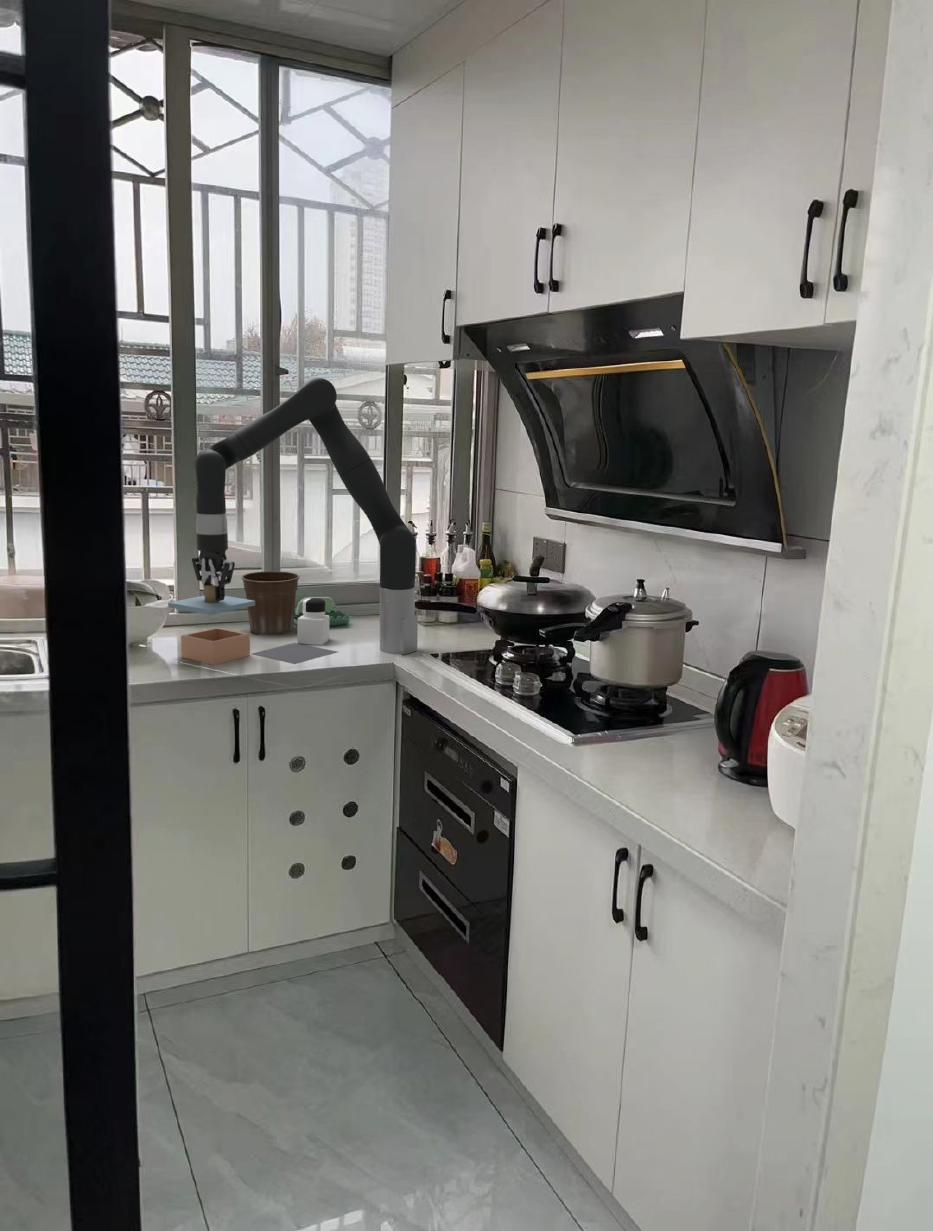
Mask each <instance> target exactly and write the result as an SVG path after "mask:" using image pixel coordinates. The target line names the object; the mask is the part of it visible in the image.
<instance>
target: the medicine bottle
mask: <svg viewBox="0 0 933 1231" xmlns="http://www.w3.org/2000/svg"><path fill="white" fill-rule="evenodd" d="M302 614H303V615H300V616H299V617H298V618H297V636H296V638H297V640H296V643H298V644H304V645H309V646H313V645H314V646H315V645H316V646H323V645H325V644H326V643H327V642H328V641H329V640H330V621H331V620H330V618H331V617H330V615H327V614H326V601H325V600H324V599H323V598H318V597H309V598H306V599H303V600H302Z"/></svg>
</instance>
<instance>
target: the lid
mask: <svg viewBox="0 0 933 1231" xmlns="http://www.w3.org/2000/svg"><path fill="white" fill-rule="evenodd" d="M215 586H216V585H215V584H213V585H205V586H203V595H201V596H200V595H199V596H195V597H191V598H185V599H180V600H175V601H169V602H168V603H167V608H169V609H175V610H176V609H177V610H182V611H187V612H192V613H197V614H204V615H209V616H212V615H216V614H222V613H225V612H230V611H234V610H235V611H237V610H239V609H240V610H241V609H246V608H248V607H250V606H255V601H253V600H247V598H240V597H235V596H228V595H225V597H224V600H221V601H217V600H216V594H215Z"/></svg>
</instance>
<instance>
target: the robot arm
mask: <svg viewBox="0 0 933 1231" xmlns="http://www.w3.org/2000/svg"><path fill="white" fill-rule="evenodd" d="M337 395H338V394H337V390H336V387H335V386H334V385H333V383H332V382H330V380H328V379H326V378H324V377H323V378H322V377H312V378H309V379H308V380H306V381H304V382H303V383H302V385H301V386H300V387H299V389H298V390H297V391H295V393H293V394H292V395H291V396H290V397H289V398H287V399H286V400H285V401H283V402H282V403H281V404H279V405H278V406H276V407H275V408H273V409H271V410H270V411H268V412H265V413H264V414H262V415H260V416H259V417H257V418H255V419H252V420H251V421H249V422H248V423H246V424H245V425H243V426H241V427H240V428H238V429H237V430H235V431H234V432H232V433H230V434H229V435H227V436H226V437H225V438H223V439H221V440H219V441H217V442H216V443H213V444H211V445H210V446H208V447H206V448H204V449H203V450H201V451H200V452H199V453H197V455H196V456H195V459H194V461H193V462H194V463H193V464H194V469H195V471H196V472H195V473H196V486H197V493H196V497H195V498H196V499H195V500H196V520H195V529H196V530H195V531H196V533H195V534H196V550H198V552H199V555H198V556H197V557H192V558H191V562H192V563H191V564H192V567H193V570H194V573H195V577H196V580H197V581H200V582H201V583H202V584H203V586H202V587H204V586H205V585H216V586H215V594H216V600H217V601H221V600H224V597H225V596H226V591H225V588H226V585H228V584H231V583H232V578H233V575H234V570H235V566H236V564H235V561H230V560H228V559H227V558H228V557H227V554H226V551H228V549H229V537H228V536H229V535H228V532H229V531H228V530H229V529H228V519H227V510H226V509H227V508H226V502H227V500H226V493H225V489H226V470H228V469H229V468H231V467H232V466H234V465H235V464H237V463H239V462H243V461H244V460H247V459H249V458H250V457H252V456H254V455H255V454H256V453H259V451H262V450H263V449H265V447H267V446H269V445H270V444H272V443H273V442H274V441H276V440H277V439H278V438H280V437H281V436H282V435H284V434H285V433H287V432H289V431H290V430H292V429H294V427H296V426H298V425H300V424H302V423H303V422H306V421H308V420H309V421H308V422H310V423H311V425H312V427H313V428H314V429H315V431H316V433H317V434H318V436H319V437H320V439H321V441H322V443H323V445H324V447H325V449H326V450H325V451H327V454H328V457H329V458H330V460H331V462H332V465H333V466H334V468H335V470H336V472H337V474H338V476H339V478H340V480H341V482H342V484H343V485H344V486H345V488H346V490H347V491H348V493H349V495H350V496H351V497H352V499H353V500H354V501H355V503H356V504H357V506H358V507H359V508H360V509H361V510H362V512H363V513H364V515H365V516H366V517H367V519H368V521H369V523H370V525H371V527H372V529H373V531H374V533H375V536H376V539H377V540H378V544H379V650H380V652H383V653H386V654H400V655H407V654H410V653H414V652H417V651H418V639H419V638H418V635H419V634H418V631H419V630H418V629H419V628H418V627H419V626H418V624H419V623H418V622H419V621H418V620H419V617H418V616H417V615H416V614H415V612H416V610H415V609H416V608H415V607H416V605H415V603H416V602H415V601H416V599H415V598H416V574H417V570H416V567H417V566H416V565H417V543H416V542H417V541H416V539H415V536H414V534H413V532H412V531H411V530H410V529H409V527H408V526H407V525H406V524H405V522H404V521H403V519H402V518H401V516H400V515H399V513H398V512H397V511H396V508H395V506H394V505H393V504H392V501H391V499H390V497H389V494H388V492H387V488H386V486H385V484H384V481H383V480H382V477H381V476H380V473H379V471H378V469H377V468H376V466H375V464H374V462H373V460H372V458H371V456H370V455H369V454H368V452H367V450H366V449H365V447H364V446H363V445H362V444H361V442H360V441H359V440H358V439H357V437H356V436H355V435H354V434H353V432H352V431H351V430H350V429H349V428H348V426H347V424H346V422H345V421H344V419H343V417H342V415H341V413H340V410H339V408H338V407H337V404H336V402H337V399H338V398H337V397H338V396H337ZM213 579H214V584H213Z"/></svg>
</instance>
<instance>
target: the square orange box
mask: <svg viewBox="0 0 933 1231" xmlns="http://www.w3.org/2000/svg"><path fill="white" fill-rule="evenodd" d="M250 636H251V635H250V633H247V632H242V631H237V630H232V629H227V628H224V627H223V628H222V627H217V626H216V627H214V628H209V629H204V630H199V631H195V632H191V633H187V634H181V635H180V643H181V644H180V647H181V658H184V659H187V660H188V659H189V660H193V661H196V662H200V663H204V664H209V665H212V666H213V665H214V666H215V665H218V664H219V665H220V664H223V663H226V662H230V661H234V660H237V659H241V658H246V657H250V656H251V640H250V639H251V637H250Z"/></svg>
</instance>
